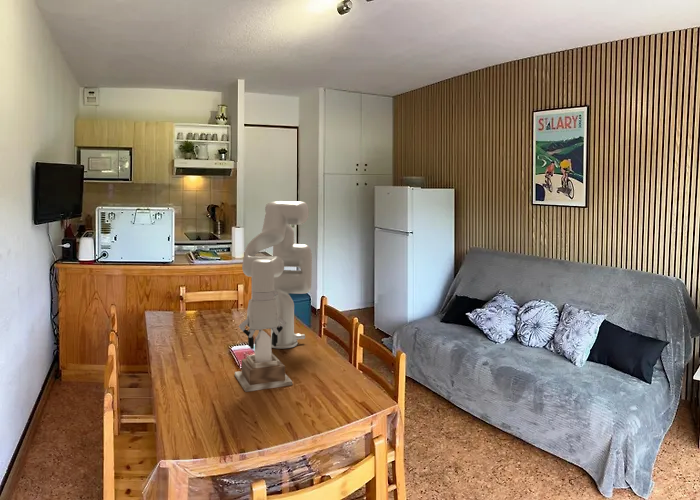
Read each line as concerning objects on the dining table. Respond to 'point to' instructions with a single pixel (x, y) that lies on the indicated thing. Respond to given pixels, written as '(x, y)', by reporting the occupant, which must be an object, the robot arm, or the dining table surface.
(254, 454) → the dining table surface
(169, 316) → the dining table surface
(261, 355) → the roll
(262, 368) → the tower base
